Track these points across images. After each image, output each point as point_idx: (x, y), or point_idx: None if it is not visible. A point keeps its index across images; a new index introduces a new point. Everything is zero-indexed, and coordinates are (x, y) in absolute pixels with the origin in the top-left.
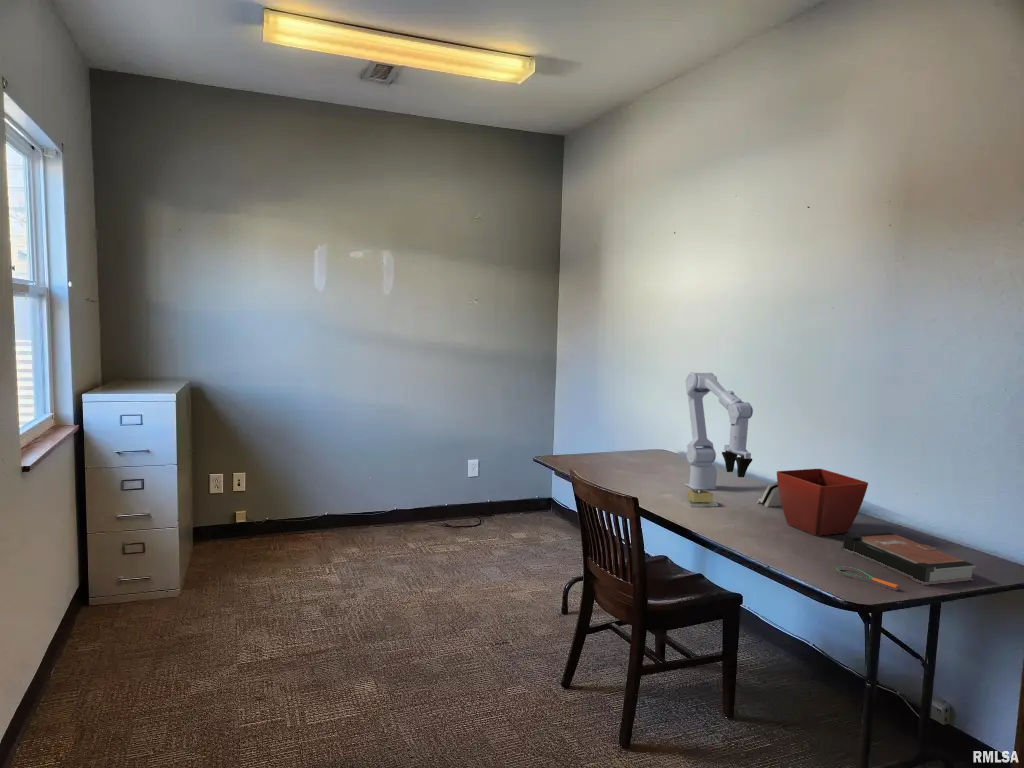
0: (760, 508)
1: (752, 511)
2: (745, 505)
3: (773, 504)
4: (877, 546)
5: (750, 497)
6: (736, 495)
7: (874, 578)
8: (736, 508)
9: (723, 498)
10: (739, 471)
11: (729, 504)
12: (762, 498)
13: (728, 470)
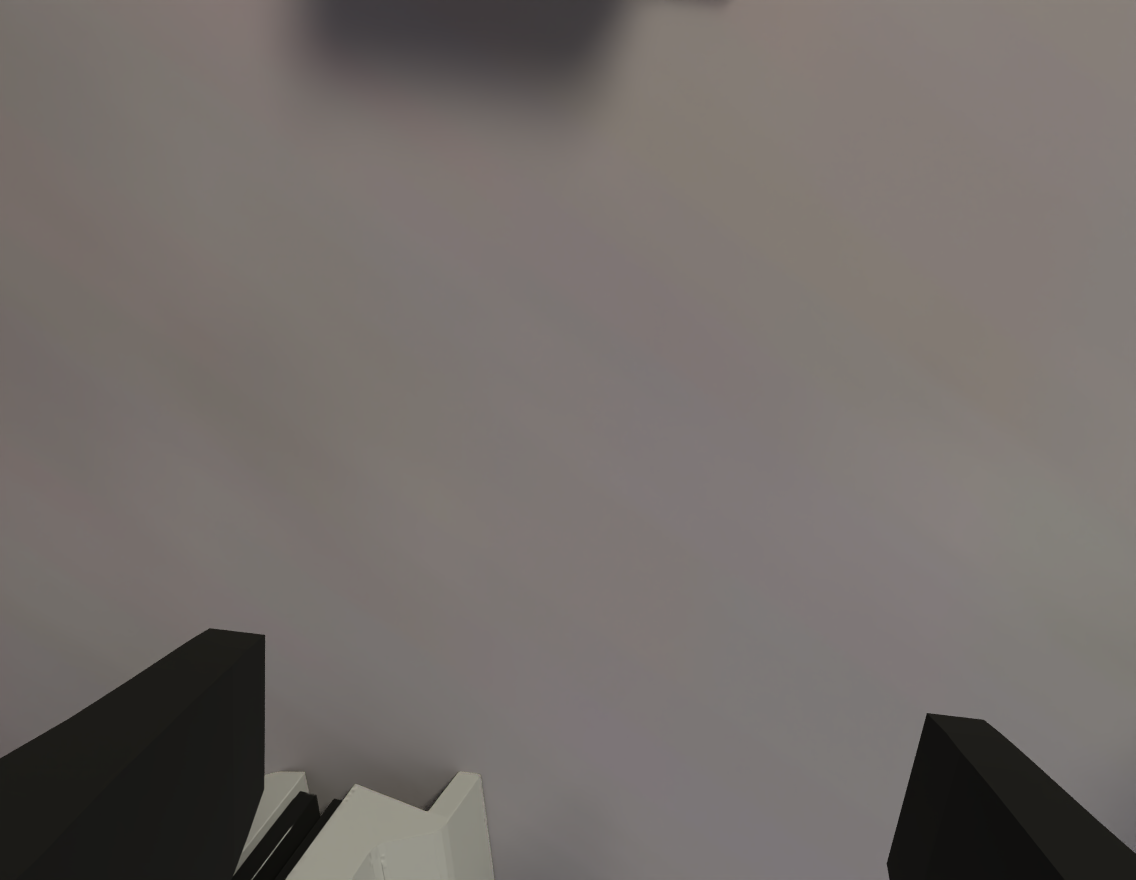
0: (185, 632)
1: (13, 391)
2: (366, 506)
3: None
4: None
5: (789, 873)
6: None
7: None
8: (194, 218)
9: (844, 399)
10: (75, 736)
11: (454, 253)
12: (347, 849)
13: (934, 772)
